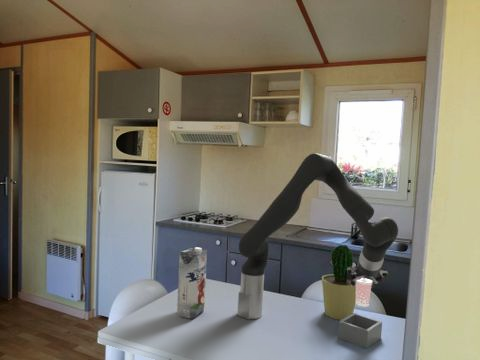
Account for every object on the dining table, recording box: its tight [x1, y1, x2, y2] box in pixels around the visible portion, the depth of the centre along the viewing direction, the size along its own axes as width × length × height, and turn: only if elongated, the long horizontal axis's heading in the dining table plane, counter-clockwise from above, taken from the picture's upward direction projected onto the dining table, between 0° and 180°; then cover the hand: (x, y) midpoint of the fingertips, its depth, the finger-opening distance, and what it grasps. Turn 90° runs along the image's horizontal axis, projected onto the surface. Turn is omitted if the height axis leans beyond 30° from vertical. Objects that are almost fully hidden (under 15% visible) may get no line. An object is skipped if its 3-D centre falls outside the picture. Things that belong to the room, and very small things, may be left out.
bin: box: [337, 312, 383, 349], centre depth 144 cm, size 12×11×6 cm
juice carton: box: [176, 246, 208, 320], centre depth 156 cm, size 9×10×27 cm
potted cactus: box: [321, 244, 356, 321], centre depth 164 cm, size 15×15×30 cm
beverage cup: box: [355, 278, 373, 308], centre depth 143 cm, size 6×6×14 cm
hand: (362, 284), depth 145 cm, fingers closed on beverage cup, 6 cm apart
